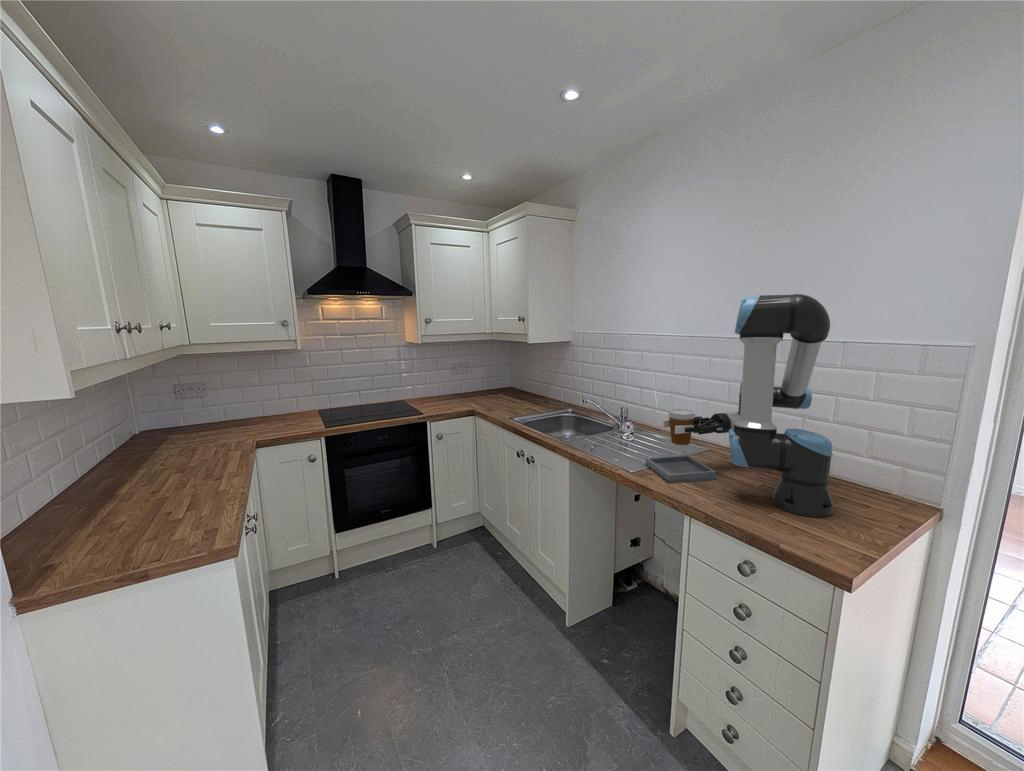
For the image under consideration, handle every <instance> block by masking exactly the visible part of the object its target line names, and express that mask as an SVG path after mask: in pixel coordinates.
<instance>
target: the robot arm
mask: <svg viewBox="0 0 1024 771" xmlns="http://www.w3.org/2000/svg"><path fill="white" fill-rule="evenodd" d="M830 329H831V319H830V315H829V312H828V311H827V309H826V308H825V306H824V305H823V304H822V303H821V302H819V301H818V300H817V299H816V298H814V297H812V296H810V295H807V294H802V293H794V294H771V295H768V294H767V295H762V294H761V295H753V296H747V297H744V298H743V299H742V300H741V301H740V305H739V310H738V313H737V318H736V322H735V329H734V334H736V335H739V341H740V343H742V344H743V346H744V348H743V364H742V366H743V367H742V379H741V382H740V386H739V387H740V389H739V392H738V394H739V396H738V412H737V411H735V412H734V411H732V412H721V413H718V412H717V413H713V415H712V416H711V417H703V416H701V415H699V416H696V417H695V419H694V422H693V425H684V426H675V434H681V433H691V434H698V435H706V434H713V433H716V434H727V433H728V439H729V440H728V441H729V442H728V443H729V451H730V459H731V460H730V461H731V463H732V464H733V465H735V466H737V467H744V468H747V469H750V468H751V469H756V470H757V469H759V470H768V471H775V472H776V471H777V472H781V476H780V479H779V481H778V483H777V484H776V487H775V488H774V490H773V493H772V503H773V504H774V505H776V506H777V507H778V508H780V509H782V510H784V511H786V512H789V513H791V514H796V515H799V516H804V517H810V518H825V517H826V518H827V517H829V516H831V515H832V514H833V512H834V503H833V499H832V496H831V492H830V489H829V479H830V472H831V471H830V470H831V463H832V461H831V460H832V457H833V443H832V441H831V440H830V439H829V438H828V437H826V436H824V435H822V434H821V433H816V432H814V431H809V430H805V429H798V428H787V429H785V431H784V433H779V432H777V431H778V427H777V426H776V425H775V424H774V423H773V421H772V418H773V408H780V409H781V408H783V409H793V410H798V409H799V410H800V409H802V410H805V409H806V410H807V409H809V408H810V407H811V405H812V398H813V393H812V389H810V388H808V386H809V383H810V379H811V376H812V374H813V370H814V369H815V368H814V367H815V364H816V361H817V357H818V356H819V352H820V348H821V345H822V343H823V342H824V341H825V340H827V338H828V336H829V333H830ZM784 334H789V335H790V337H791V338H792V339H791V344H790V348H789V351H788V356H787V360H786V365H785V367H784V368H785V369H784V372H783V378H782V381H781V386H775V375H776V374H775V373H776V372H775V371H776V358H777V357H776V356H777V346H778V344H779V343H780V342H782V341H783V340H784ZM662 427H663V428H670V420H669V419H662Z"/></svg>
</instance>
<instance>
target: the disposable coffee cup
mask: <svg viewBox="0 0 1024 771" xmlns="http://www.w3.org/2000/svg"><path fill="white" fill-rule="evenodd" d="M667 415H668V420H670V427H669V429H670V430H669V431H670V438H671V439H670V440H671V443H672V444H674V445H677V446H687V445H690V442H691V438H692V433H681V434H675V426H684V425H693V422H694V419H695V417H697V416H696V413H695V411H693V410H691V409H683V408H674V409H669V411H668V414H667Z"/></svg>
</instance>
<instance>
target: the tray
mask: <svg viewBox="0 0 1024 771" xmlns="http://www.w3.org/2000/svg"><path fill="white" fill-rule="evenodd" d="M646 465H647V466H649V467H650V468H649V469H650V470H651V469H652V470H653V471H652V470H651V471H652V472H653V473H655V474H656V473H657V474H658V475H657V474H656V475H657V476H658V477H660V476H661V477H662V478H661V477H660V478H661V479H662V480H664V479H665V480H666V481H667V483H668V482H669V483H668V484H677V482H681V483H687V482H688V483H689V482H690V483H692V482H693V483H694V482H701V481H702V482H704V481H715V480H717V471H716V470H714V469H713V468H710V467H709V466H707V465H706V464H704V463H702V462H700V461H699V460H697V459H695V458H694V457H692V456H690V455H688V454H687V455H685V454H684V455H672V456H671V455H670V456H659V457H658V456H657V457H646V458H645V466H646ZM647 466H646V467H647ZM665 480H664V481H665ZM666 481H665V482H666Z"/></svg>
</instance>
